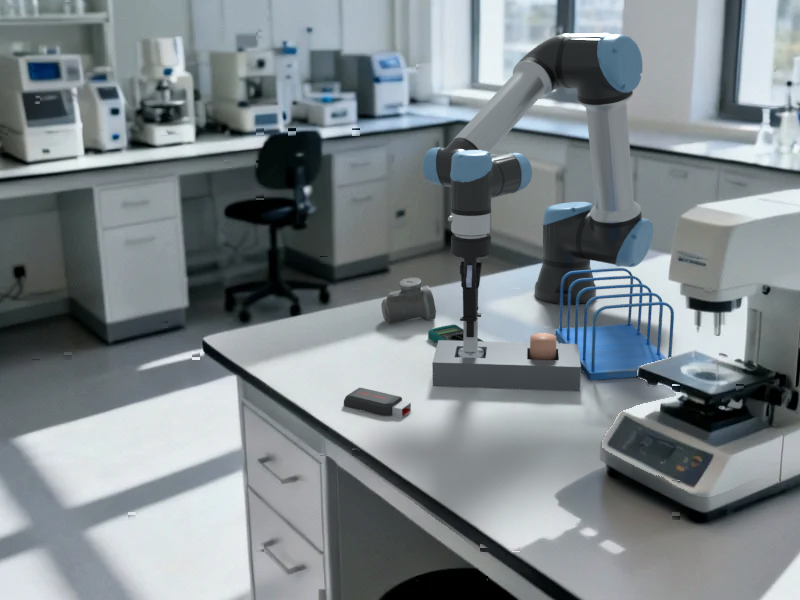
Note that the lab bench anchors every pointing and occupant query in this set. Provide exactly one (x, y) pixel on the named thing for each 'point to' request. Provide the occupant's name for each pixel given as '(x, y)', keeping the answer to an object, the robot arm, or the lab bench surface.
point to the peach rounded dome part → (543, 346)
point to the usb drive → (377, 403)
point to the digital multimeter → (446, 333)
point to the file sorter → (613, 332)
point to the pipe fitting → (409, 302)
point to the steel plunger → (471, 353)
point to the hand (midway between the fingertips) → (470, 350)
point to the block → (506, 367)
